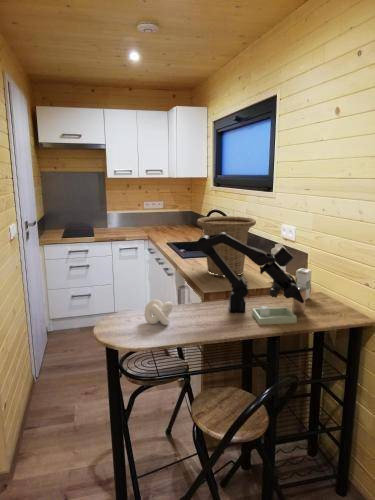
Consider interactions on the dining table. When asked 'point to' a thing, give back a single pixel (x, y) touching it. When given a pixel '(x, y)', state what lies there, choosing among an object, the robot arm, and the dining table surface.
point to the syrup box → (304, 280)
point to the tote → (275, 316)
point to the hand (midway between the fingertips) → (301, 298)
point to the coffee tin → (299, 303)
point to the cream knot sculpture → (158, 312)
